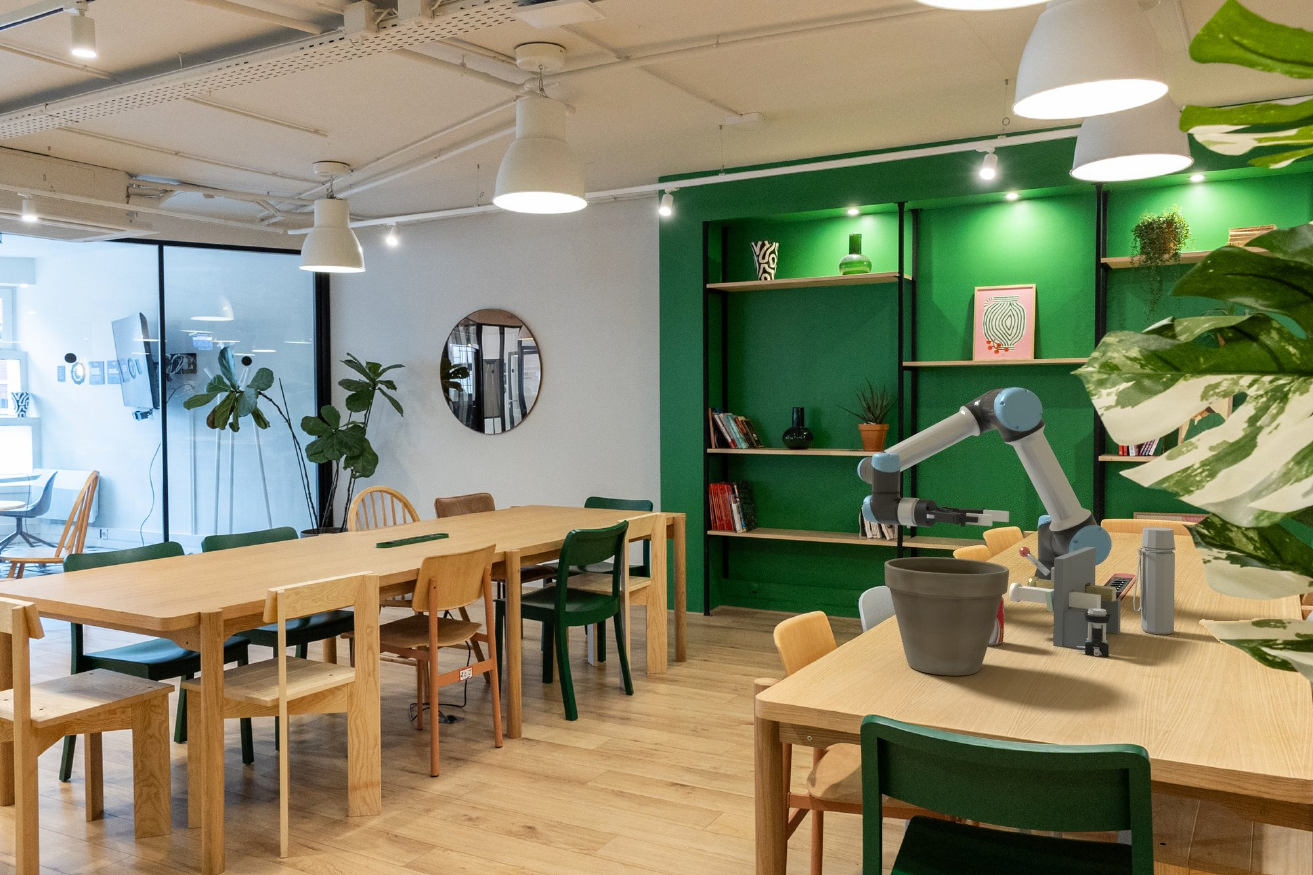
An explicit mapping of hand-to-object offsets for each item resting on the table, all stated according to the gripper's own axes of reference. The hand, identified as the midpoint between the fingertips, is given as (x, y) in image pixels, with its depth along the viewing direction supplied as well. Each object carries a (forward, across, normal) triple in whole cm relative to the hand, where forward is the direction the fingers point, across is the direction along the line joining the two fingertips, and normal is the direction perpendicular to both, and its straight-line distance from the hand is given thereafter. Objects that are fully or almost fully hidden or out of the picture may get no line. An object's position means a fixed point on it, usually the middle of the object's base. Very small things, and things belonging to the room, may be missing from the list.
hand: (1000, 518), depth 248 cm
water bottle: (+33, -11, -26) cm, 44 cm away
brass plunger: (+18, 0, -18) cm, 25 cm away
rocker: (+18, +16, -18) cm, 31 cm away
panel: (+23, +6, -26) cm, 35 cm away
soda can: (+7, +25, -26) cm, 37 cm away
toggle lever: (+14, +16, -11) cm, 24 cm away
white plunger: (+18, +12, -18) cm, 28 cm away
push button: (+29, +21, -26) cm, 44 cm away
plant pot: (+8, +51, -26) cm, 58 cm away
